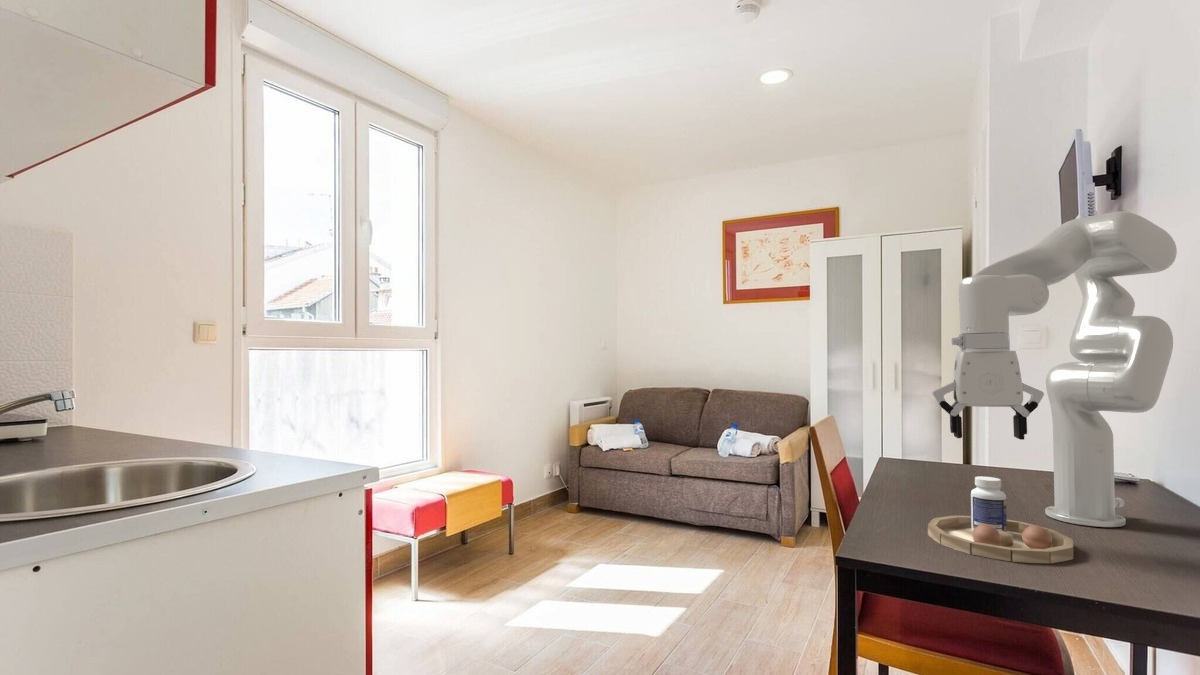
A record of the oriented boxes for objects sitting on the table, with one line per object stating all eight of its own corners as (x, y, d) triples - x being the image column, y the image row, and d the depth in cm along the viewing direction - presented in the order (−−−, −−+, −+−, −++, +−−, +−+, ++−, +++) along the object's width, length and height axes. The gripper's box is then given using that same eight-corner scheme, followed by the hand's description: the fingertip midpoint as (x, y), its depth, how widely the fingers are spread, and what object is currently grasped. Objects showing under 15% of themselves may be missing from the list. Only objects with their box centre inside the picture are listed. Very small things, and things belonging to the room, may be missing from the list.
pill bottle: (1012, 538, 105) (1011, 482, 105) (978, 536, 106) (977, 480, 107) (999, 529, 110) (998, 476, 111) (966, 527, 111) (966, 474, 112)
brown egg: (983, 544, 102) (983, 520, 102) (1007, 551, 98) (1006, 526, 98) (966, 547, 100) (966, 522, 100) (990, 554, 97) (989, 529, 97)
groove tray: (982, 526, 116) (981, 511, 116) (1102, 559, 97) (1102, 542, 97) (903, 537, 109) (903, 522, 109) (1017, 576, 90) (1017, 557, 90)
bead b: (1032, 545, 101) (1032, 521, 101) (1058, 552, 98) (1057, 527, 98) (1016, 548, 100) (1016, 523, 100) (1042, 555, 96) (1041, 530, 96)
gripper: (935, 344, 108) (938, 439, 108) (1049, 342, 103) (1052, 442, 103) (927, 344, 115) (930, 433, 115) (1033, 342, 110) (1036, 435, 110)
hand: (988, 437), depth 109 cm, fingers open, 9 cm apart
